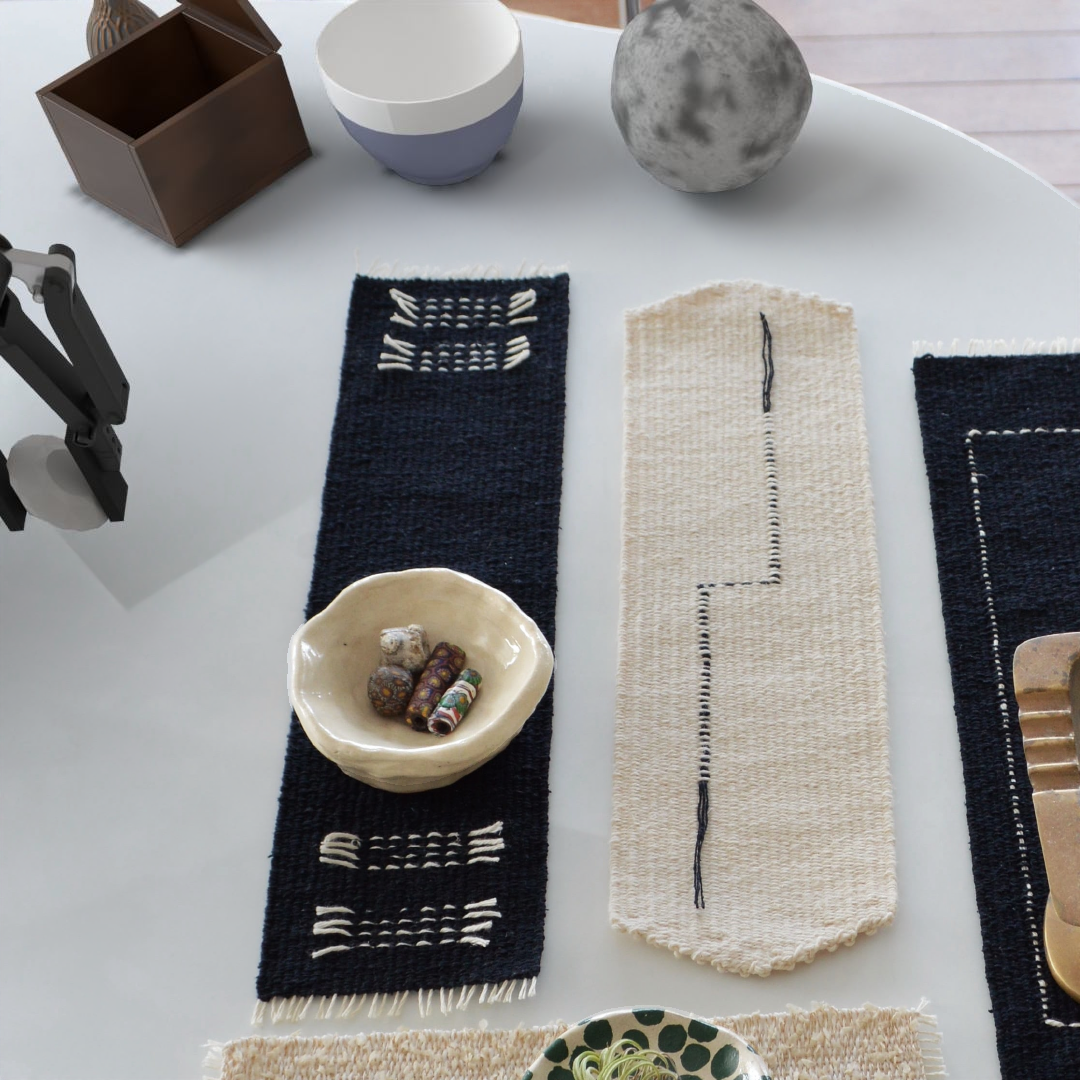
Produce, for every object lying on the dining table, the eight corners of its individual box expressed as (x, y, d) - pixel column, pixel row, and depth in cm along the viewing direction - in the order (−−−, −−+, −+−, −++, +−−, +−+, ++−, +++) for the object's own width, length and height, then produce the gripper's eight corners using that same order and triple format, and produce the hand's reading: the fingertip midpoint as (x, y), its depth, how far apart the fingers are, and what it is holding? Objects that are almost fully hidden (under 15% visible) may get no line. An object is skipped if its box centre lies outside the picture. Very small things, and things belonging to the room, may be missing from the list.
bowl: (559, 102, 123) (544, -8, 115) (509, 222, 115) (489, 113, 107) (381, 83, 125) (353, -27, 117) (319, 201, 117) (284, 91, 108)
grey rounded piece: (-25, 451, 83) (17, 407, 80) (80, 488, 88) (123, 447, 85) (-27, 542, 81) (16, 499, 78) (81, 574, 86) (125, 535, 83)
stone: (653, 109, 123) (638, -70, 110) (830, 139, 120) (835, -40, 108) (595, 219, 115) (572, 40, 102) (782, 254, 113) (782, 75, 100)
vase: (93, 89, 125) (49, -11, 117) (163, 57, 127) (125, -43, 120) (133, 125, 122) (91, 25, 114) (204, 92, 124) (168, -9, 117)
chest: (177, 248, 114) (134, 148, 106) (82, 191, 117) (34, 91, 110) (313, 154, 120) (281, 54, 112) (218, 103, 123) (182, 3, 116)
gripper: (72, 90, 67) (230, 447, 87) (-335, 119, 65) (-79, 475, 85) (52, 194, 63) (222, 543, 83) (-380, 228, 62) (-101, 574, 82)
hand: (69, 508), depth 84 cm, fingers closed on grey rounded piece, 5 cm apart
